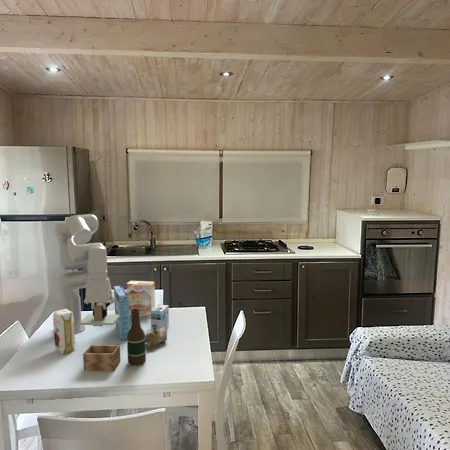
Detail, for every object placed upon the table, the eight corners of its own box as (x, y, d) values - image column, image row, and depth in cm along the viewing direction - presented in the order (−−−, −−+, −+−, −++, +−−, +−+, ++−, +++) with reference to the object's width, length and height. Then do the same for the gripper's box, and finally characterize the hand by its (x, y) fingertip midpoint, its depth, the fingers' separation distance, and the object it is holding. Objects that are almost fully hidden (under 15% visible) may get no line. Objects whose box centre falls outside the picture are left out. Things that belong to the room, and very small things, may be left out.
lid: (79, 327, 169) (78, 308, 168) (88, 319, 179) (87, 301, 178) (112, 328, 169) (112, 309, 168) (120, 319, 179) (119, 301, 178)
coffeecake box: (127, 315, 238) (125, 283, 236) (131, 311, 245) (130, 280, 243) (151, 317, 236) (150, 284, 233) (155, 313, 243) (154, 281, 240)
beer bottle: (137, 367, 174) (135, 314, 171) (124, 363, 178) (122, 310, 175) (149, 360, 181) (148, 308, 178) (136, 356, 185) (135, 305, 182)
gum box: (130, 338, 205) (129, 294, 202) (120, 340, 203) (118, 296, 200) (124, 325, 223) (122, 285, 220) (114, 327, 221) (113, 286, 218)
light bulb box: (162, 330, 215) (162, 311, 214) (150, 330, 217) (150, 310, 215) (169, 323, 226) (168, 304, 224) (157, 322, 227) (157, 304, 226)
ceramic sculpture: (172, 325, 199) (146, 336, 188) (173, 342, 200) (148, 353, 190) (159, 320, 206) (134, 330, 196) (161, 336, 208) (135, 347, 197)
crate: (83, 370, 172) (82, 353, 171) (91, 361, 181) (90, 345, 180) (114, 371, 171) (113, 354, 170) (120, 361, 180) (119, 345, 179)
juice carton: (69, 345, 198) (67, 307, 195) (77, 350, 191) (74, 311, 189) (53, 350, 192) (51, 311, 190) (61, 355, 186) (58, 315, 184)
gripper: (75, 277, 168) (77, 320, 170) (114, 277, 167) (116, 320, 170) (82, 273, 175) (84, 314, 178) (120, 273, 175) (121, 314, 177)
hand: (100, 316), depth 174 cm, fingers closed on lid, 3 cm apart
